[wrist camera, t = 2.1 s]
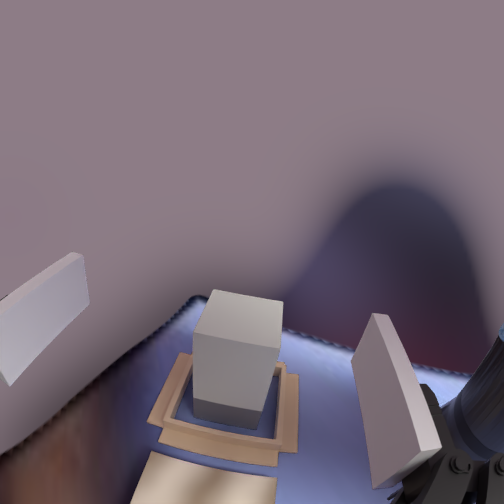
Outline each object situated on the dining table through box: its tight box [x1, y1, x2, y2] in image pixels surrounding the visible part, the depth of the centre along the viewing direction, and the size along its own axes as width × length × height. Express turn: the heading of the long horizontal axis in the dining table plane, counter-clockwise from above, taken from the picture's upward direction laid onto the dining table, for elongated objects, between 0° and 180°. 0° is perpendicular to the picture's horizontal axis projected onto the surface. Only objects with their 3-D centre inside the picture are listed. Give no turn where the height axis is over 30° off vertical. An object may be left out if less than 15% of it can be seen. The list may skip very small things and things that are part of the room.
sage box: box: [193, 289, 283, 430], centre depth 27 cm, size 7×7×13 cm
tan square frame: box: [147, 351, 299, 467], centre depth 29 cm, size 16×16×2 cm
